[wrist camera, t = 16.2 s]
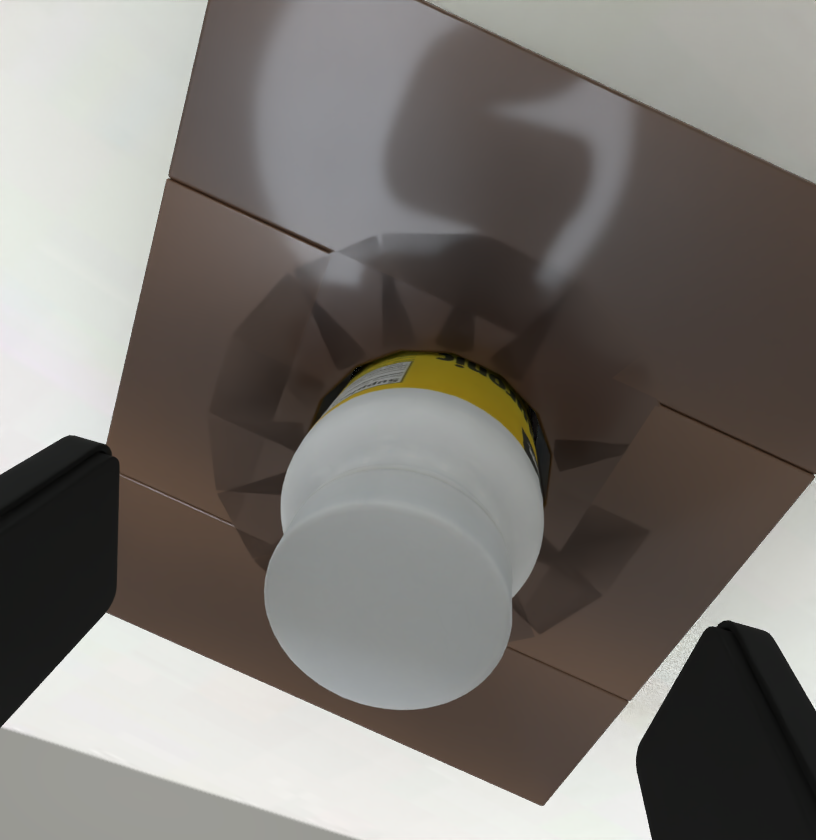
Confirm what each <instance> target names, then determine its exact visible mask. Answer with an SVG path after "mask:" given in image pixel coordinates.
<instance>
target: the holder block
mask: <svg viewBox="0 0 816 840" xmlns="http://www.w3.org/2000/svg"><path fill="white" fill-rule="evenodd" d="M169 177H170V178H171V179H170V178H168V179H167V180H166V184H165V189H164V193H163V197H162V202H161V206H160V211H159V215H158V219H157V224H156V228H155V232H154V237H153V241H152V246H151V250H150V254H149V259H148V263H147V268H146V272H145V276H144V281H143V285H142V289H141V294H140V298H139V303H138V307H137V311H136V316H135V320H134V324H133V329H132V333H131V338H130V342H129V346H128V351H127V355H126V360H125V364H124V368H123V373H122V377H121V381H120V386H119V390H118V395H117V399H116V403H115V408H114V412H113V416H112V421H111V425H110V430H109V434H108V438H107V443H106V445H107V446H109V447H110V449H111V451H112V456H114V457H116V458H117V459H118V460H119V464H120V478H119V518H118V558H117V589H116V594H115V598H114V600H113V602H112V604H111V606H110V608H109V609H108V610H107V612H106V613H108V614H111V615H113V616H115V617H117V618H120V619H122V620H124V621H126V622H129V623H131V624H133V625H135V626H138V627H140V628H142V629H144V630H147V631H149V632H151V633H153V634H156V635H158V636H160V637H162V638H165V639H167V640H169V641H171V642H174V643H176V644H178V645H180V646H183V647H185V648H187V649H189V650H192V651H194V652H196V653H198V654H201V655H203V656H205V657H207V658H210V659H212V660H214V661H216V662H219V663H221V664H223V665H225V666H228V667H230V668H232V669H234V670H237V671H239V672H241V673H243V674H246V675H248V676H250V677H252V678H255V679H257V680H259V681H261V682H264V683H266V684H268V685H270V686H273V687H275V688H277V689H279V690H282V691H284V692H286V693H288V694H291V695H293V696H295V697H297V698H300V699H302V700H304V701H306V702H309V703H311V704H313V705H315V706H318V707H320V708H322V709H324V710H327V711H329V712H331V713H333V714H336V715H338V716H340V717H342V718H345V719H347V720H349V721H351V722H354V723H356V724H358V725H360V726H363V727H365V728H367V729H369V730H372V731H374V732H376V733H378V734H381V735H383V736H385V737H387V738H390V739H392V740H394V741H396V742H399V743H401V744H403V745H405V746H408V747H410V748H412V749H414V750H417V751H419V752H421V753H423V754H426V755H428V756H430V757H432V758H435V759H437V760H439V761H441V762H444V763H446V764H448V765H450V766H453V767H455V768H457V769H459V770H462V771H464V772H466V773H468V774H471V775H473V776H475V777H477V778H480V779H482V780H484V781H486V782H489V783H491V784H493V785H495V786H498V787H500V788H502V789H504V790H507V791H509V792H511V793H513V794H516V795H518V796H520V797H522V798H525V799H527V800H529V801H531V802H534V803H536V804H538V805H540V806H544V805H545V803H546V802H547V801H548V800H549V798H550V797H551V796H552V795H553V794H554V792H555V791H556V790H557V789H558V788H559V786H560V785H561V784H562V783H563V782H564V780H565V779H566V778H567V777H568V775H569V774H570V773H571V772H572V771H573V769H574V768H575V767H576V766H577V765H578V763H579V762H580V761H581V760H582V759H583V757H584V756H585V755H586V754H587V752H588V751H589V750H590V749H591V748H592V746H593V745H594V744H595V743H596V742H597V740H598V739H599V738H600V737H601V736H602V734H603V733H604V732H605V731H606V729H607V728H608V727H609V726H610V725H611V723H612V722H613V721H614V720H615V719H616V717H617V716H618V715H619V714H620V712H621V711H622V710H623V709H624V708H625V706H626V705H627V704H628V701H631V700H632V698H633V697H634V696H635V695H636V694H637V692H638V691H639V690H640V689H641V688H642V686H643V685H644V684H645V683H646V682H647V680H648V679H649V678H650V677H651V675H652V674H653V673H654V672H655V671H656V669H657V668H658V667H659V666H660V665H661V663H662V662H663V661H664V660H665V659H666V657H667V656H668V655H669V654H670V652H671V651H672V650H673V649H674V648H675V646H676V645H677V644H678V643H679V642H680V640H681V639H682V638H683V637H684V636H685V634H686V633H687V632H688V631H689V629H690V628H691V627H692V626H693V625H694V623H695V622H696V621H697V620H698V619H699V617H700V616H701V615H702V614H703V613H704V611H705V610H706V609H707V608H708V606H709V605H710V604H711V603H712V602H713V600H714V599H715V598H716V597H717V596H718V594H719V593H720V592H721V591H722V590H723V588H724V587H725V586H726V585H727V583H728V582H729V581H730V580H731V579H732V577H733V576H734V575H735V574H736V573H737V571H738V570H739V569H740V568H741V567H742V565H743V564H744V563H745V562H746V560H747V559H748V558H749V557H750V556H751V554H752V553H753V552H754V551H755V550H756V548H757V547H758V546H759V545H760V544H761V542H762V541H763V540H764V539H765V537H766V536H767V535H768V534H769V533H770V531H771V530H772V529H773V528H774V527H775V525H776V524H777V523H778V522H779V521H780V519H781V518H782V517H783V516H784V514H785V513H786V512H787V511H788V510H789V508H790V507H791V506H792V505H793V504H794V502H795V501H796V500H797V499H798V498H799V496H800V495H801V494H802V493H803V491H804V490H805V489H806V488H807V487H808V485H809V484H810V483H811V482H812V481H813V479H814V478H815V476H814V474H816V184H815V183H813V182H811V181H808V180H806V179H804V178H802V177H800V176H798V175H796V174H793V173H791V172H789V171H787V170H785V169H783V168H781V167H779V166H776V165H774V164H772V163H770V162H768V161H766V160H764V159H761V158H759V157H757V156H755V155H753V154H751V153H749V152H747V151H744V150H742V149H740V148H738V147H736V146H734V145H732V144H730V143H727V142H725V141H723V140H721V139H719V138H717V137H715V136H712V135H710V134H708V133H706V132H704V131H702V130H700V129H698V128H695V127H693V126H691V125H689V124H687V123H685V122H683V121H681V120H678V119H676V118H674V117H672V116H670V115H668V114H666V113H663V112H661V111H659V110H657V109H655V108H653V107H651V106H649V105H646V104H644V103H642V102H640V101H638V100H636V99H634V98H632V97H629V96H627V95H625V94H623V93H621V92H619V91H617V90H614V89H612V88H610V87H608V86H606V85H604V84H602V83H600V82H597V81H595V80H593V79H591V78H589V77H587V76H585V75H582V74H580V73H578V72H576V71H574V70H572V69H570V68H568V67H565V66H563V65H561V64H559V63H557V62H555V61H553V60H551V59H548V58H546V57H544V56H542V55H540V54H538V53H536V52H533V51H531V50H529V49H527V48H525V47H523V46H521V45H519V44H516V43H514V42H512V41H510V40H508V39H506V38H504V37H502V36H499V35H497V34H495V33H493V32H491V31H489V30H487V29H484V28H482V27H480V26H478V25H476V24H474V23H472V22H470V21H467V20H465V19H463V18H461V17H459V16H457V15H455V14H452V13H450V12H448V11H446V10H444V9H442V8H440V7H438V6H435V5H433V4H431V3H429V2H427V1H425V0H208V4H207V8H206V12H205V17H204V21H203V25H202V30H201V34H200V39H199V43H198V47H197V52H196V56H195V60H194V65H193V69H192V74H191V78H190V82H189V87H188V91H187V95H186V100H185V104H184V109H183V113H182V117H181V122H180V126H179V130H178V135H177V139H176V144H175V148H174V152H173V157H172V161H171V165H170V170H169ZM401 351H413V352H434V353H453V354H455V355H458V356H460V357H462V358H464V359H466V360H469V361H471V362H473V363H475V364H477V365H479V366H482V367H484V368H486V369H488V370H490V371H493V372H495V373H497V374H499V375H501V376H502V377H503V378H504V379H505V380H506V381H507V382H508V384H509V385H510V386H511V387H512V388H513V389H514V390H515V391H516V392H517V393H518V394H519V395H520V396H521V397H522V399H523V400H524V401H525V402H526V403H527V404H528V405H529V406H530V407H531V408H532V409H533V410H534V411H535V414H536V416H537V419H538V429H537V439H536V441H535V449H536V455H537V462H538V470H539V476H540V480H541V487H542V493H543V510H544V531H543V538H542V544H541V548H540V552H539V555H538V558H537V560H536V563H535V565H534V567H533V570H532V572H531V574H530V575H529V577H528V579H527V580H526V582H525V583H524V585H523V586H522V587H521V588H520V590H519V591H518V592H517V593H516V594H515V596H514V597H513V598H512V628H511V633H510V637H509V641H508V644H507V647H506V649H505V651H504V653H503V656H502V658H501V660H500V661H499V663H498V664H497V666H496V667H495V668H494V670H493V671H492V673H491V674H490V675H489V676H488V677H487V678H486V679H485V680H484V681H483V682H482V683H481V684H479V685H478V686H477V687H476V688H474V689H473V690H471V691H470V692H468V693H467V694H465V695H463V696H461V697H459V698H457V699H455V700H452V701H450V702H448V703H445V704H441V705H437V706H433V707H429V708H423V709H415V710H393V709H384V708H378V707H372V706H368V705H364V704H360V703H357V702H354V701H352V700H349V699H346V698H343V697H341V696H339V695H337V694H335V693H333V692H332V691H330V690H328V689H326V688H324V687H323V686H321V685H320V684H318V683H317V682H315V681H314V680H313V679H311V678H310V677H309V676H307V675H306V674H305V673H304V672H303V671H302V670H301V669H300V668H299V667H297V666H296V665H295V664H294V662H293V661H292V660H291V659H290V658H289V656H288V655H287V654H286V652H285V651H284V650H283V648H282V647H281V645H280V644H279V642H278V640H277V638H276V636H275V635H274V633H273V631H272V628H271V625H270V622H269V620H268V617H267V613H266V608H265V598H264V586H265V577H266V573H267V569H268V565H269V562H270V559H271V557H272V555H273V553H274V551H275V549H276V547H277V545H278V543H279V542H280V540H281V538H282V537H283V535H284V533H283V528H282V522H281V494H282V487H283V483H284V479H285V476H286V472H287V469H288V467H289V464H290V462H291V460H292V458H293V456H294V454H295V452H296V451H297V449H298V447H299V446H300V444H301V443H302V441H303V439H304V438H305V436H306V435H307V434H308V432H309V431H310V430H311V428H312V427H313V426H314V425H315V423H316V422H317V421H318V420H319V419H320V418H321V416H322V415H323V414H324V413H325V412H326V410H327V409H328V408H329V407H330V405H331V404H332V403H333V401H334V400H335V399H336V398H337V397H338V395H339V394H340V393H341V392H342V390H343V389H344V388H345V387H346V386H347V384H348V383H349V381H350V378H351V376H352V373H353V371H354V369H355V368H357V367H359V366H362V365H364V364H367V363H370V362H373V361H376V360H378V359H381V358H384V357H387V356H389V355H392V354H395V353H398V352H401Z"/></svg>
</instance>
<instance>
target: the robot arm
mask: <svg viewBox="0 0 816 840" xmlns="http://www.w3.org/2000/svg"><path fill="white" fill-rule="evenodd" d="M119 478H120V464H119V460H118V459H117V458H116V457H114V456H112V451H111V449H110V447H109V446H107V445H106V444H102V443H98V442H95V441H91V440H88V439H84V438H81V437H77V436H71V435H69V436H66V437H64V438H62V439H60V440H59V441H57V442H55V443H53V444H52V445H50V446H48V447H47V448H45V449H43V450H42V451H40V452H38V453H36V454H35V455H33V456H31V457H30V458H28V459H26V460H25V461H23V462H21V463H20V464H18V465H16V466H14V467H13V468H11V469H9V470H8V471H6V472H4V473H3V474H1V475H0V728H1V726H2V725H3V724H4V723H5V722H6V721H7V720H8V719H9V718H10V717H11V716H12V714H13V713H14V712H15V711H16V710H17V709H18V708H19V707H20V706H21V705H22V704H23V702H24V701H25V700H26V699H27V698H28V697H29V696H30V695H31V694H32V693H33V692H34V690H35V689H36V688H37V687H38V686H39V685H40V684H41V683H42V682H43V681H44V680H45V678H46V677H47V676H48V675H49V674H50V673H51V672H52V671H53V670H54V669H55V668H56V666H57V665H58V664H59V663H60V662H61V661H62V660H63V659H64V658H65V657H66V656H67V654H68V653H69V652H70V651H71V650H72V649H73V648H74V647H75V646H76V645H77V644H78V642H79V641H80V640H81V639H82V638H83V637H84V636H85V635H86V634H87V633H88V632H89V630H90V629H91V628H92V627H93V626H94V625H95V624H96V623H97V622H98V621H99V620H100V618H101V617H102V616H103V615H104V614H105V613H106V612H107V610H108V609H109V608H110V606H111V604H112V602H113V600H114V598H115V594H116V589H117V558H118V518H119ZM636 768H637V774H638V778H639V783H640V787H641V792H642V796H643V801H644V805H645V810H646V814H647V819H648V823H649V828H650V832H651V837H652V840H816V711H815V709H814V707H813V705H812V704H811V702H810V700H809V699H808V697H807V695H806V693H805V692H804V690H803V688H802V687H801V685H800V683H799V681H798V680H797V678H796V676H795V674H794V673H793V671H792V669H791V668H790V666H789V664H788V662H787V661H786V659H785V657H784V656H783V654H782V652H781V650H780V649H779V647H778V645H777V644H776V642H775V640H774V639H773V637H772V636H771V635H770V634H769V633H768V632H766V631H763V630H760V629H756V628H753V627H749V626H746V625H742V624H739V623H735V622H732V621H723V622H721V623H720V624H718V626H717V627H713V626H712V627H708V628H707V629H706V630H705V631H704V632H703V634H702V636H701V637H700V639H699V641H698V642H697V644H696V646H695V648H694V649H693V651H692V653H691V655H690V656H689V658H688V660H687V662H686V663H685V665H684V667H683V669H682V670H681V672H680V674H679V676H678V677H677V679H676V681H675V682H674V684H673V686H672V688H671V689H670V691H669V693H668V695H667V696H666V698H665V700H664V702H663V703H662V705H661V707H660V709H659V710H658V712H657V714H656V716H655V717H654V719H653V721H652V723H651V724H650V726H649V728H648V729H647V731H646V733H645V735H644V736H643V738H642V740H641V742H640V744H639V746H638V750H637V755H636Z"/></svg>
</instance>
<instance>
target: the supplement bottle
mask: <svg viewBox="0 0 816 840" xmlns="http://www.w3.org/2000/svg"><path fill="white" fill-rule="evenodd" d="M281 522H282V528H283V533H284V535H283V537H282V538H281V540H280V542H279V543H278V545H277V547H276V549H275V551H274V553H273V555H272V557H271V559H270V562H269V565H268V569H267V573H266V577H265V586H264V598H265V608H266V613H267V617H268V620H269V622H270V625H271V628H272V631H273V633H274V635H275V636H276V638H277V640H278V642H279V644H280V645H281V647H282V648H283V650H284V651H285V652H286V654H287V655H288V656H289V658H290V659H291V660H292V661H293V662H294V664H295V665H296V666H297V667H299V668H300V669H301V670H302V671H303V672H304V673H305V674H306V675H307V676H309V677H310V678H311V679H313V680H314V681H315V682H317V683H318V684H320V685H321V686H323V687H324V688H326V689H328V690H330V691H332V692H333V693H335V694H337V695H339V696H341V697H343V698H346V699H349V700H352V701H354V702H357V703H360V704H364V705H368V706H372V707H378V708H384V709H393V710H415V709H423V708H429V707H433V706H437V705H441V704H445V703H448V702H450V701H452V700H455V699H457V698H459V697H461V696H463V695H465V694H467V693H468V692H470V691H471V690H473V689H474V688H476V687H477V686H478V685H479V684H481V683H482V682H483V681H484V680H485V679H486V678H487V677H488V676H489V675H490V674H491V673H492V671H493V670H494V668H495V667H496V666H497V664H498V663H499V661H500V660H501V658H502V656H503V653H504V651H505V649H506V647H507V644H508V641H509V637H510V633H511V628H512V598H513V597H514V596H515V594H516V593H517V592H518V591H519V590H520V588H521V587H522V586H523V585H524V583H525V582H526V580H527V579H528V577H529V575H530V574H531V572H532V570H533V567H534V565H535V563H536V560H537V558H538V555H539V552H540V548H541V544H542V538H543V531H544V510H543V493H542V487H541V480H540V476H539V470H538V462H537V455H536V449H535V440H534V435H533V428H532V420H531V413H530V406H529V405H528V404H527V403H526V402H525V401H524V400H523V399H522V397H521V396H520V395H519V394H518V393H517V392H516V391H515V390H514V389H513V388H512V387H511V386H510V385H509V384H508V382H507V381H506V380H505V379H504V378H503V377H502V376H501V375H499V374H497V373H495V372H493V371H490V370H488V369H486V368H484V367H482V366H479V365H477V364H475V363H473V362H471V361H469V360H466V359H464V358H462V357H460V356H458V355H455V354H453V353H434V352H413V351H401V352H398V353H395V354H392V355H389V356H387V357H384V358H381V359H378V360H376V361H373V362H370V363H367V364H364V365H363V366H362V367H361V368H360V370H359V371H358V372H357V373H356V374H355V376H354V377H353V378H352V379H351V380H350V382H349V383H348V384H347V386H346V387H345V388H344V389H343V390H342V392H341V393H340V394H339V395H338V397H337V398H336V399H335V400H334V401H333V403H332V404H331V405H330V407H329V408H328V409H327V410H326V412H325V413H324V414H323V415H322V416H321V418H320V419H319V420H318V421H317V422H316V423H315V425H314V426H313V427H312V428H311V430H310V431H309V432H308V434H307V435H306V436H305V438H304V439H303V441H302V443H301V444H300V446H299V447H298V449H297V451H296V452H295V454H294V456H293V458H292V460H291V462H290V464H289V467H288V469H287V472H286V476H285V479H284V483H283V487H282V494H281Z"/></svg>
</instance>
